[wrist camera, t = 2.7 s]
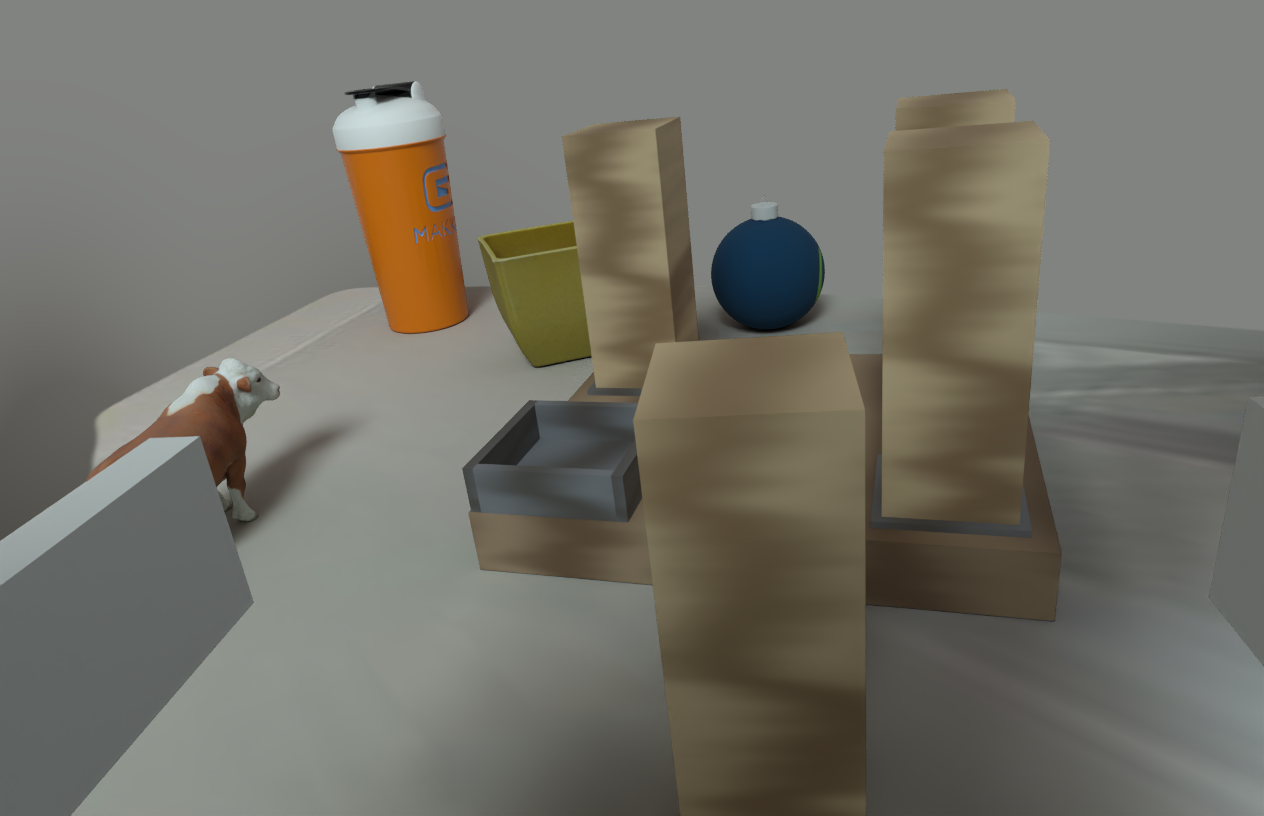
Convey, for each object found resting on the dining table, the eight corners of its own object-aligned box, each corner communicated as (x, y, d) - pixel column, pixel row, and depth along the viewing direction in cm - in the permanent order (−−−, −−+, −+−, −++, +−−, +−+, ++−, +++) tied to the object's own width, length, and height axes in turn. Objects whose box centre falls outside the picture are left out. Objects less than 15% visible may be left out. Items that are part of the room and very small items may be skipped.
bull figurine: (317, 473, 51) (281, 344, 48) (172, 614, 39) (110, 454, 36) (251, 474, 52) (211, 347, 49) (90, 613, 40) (22, 456, 37)
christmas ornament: (806, 348, 62) (802, 206, 58) (698, 341, 65) (687, 208, 62) (838, 311, 68) (836, 182, 64) (738, 307, 72) (730, 185, 68)
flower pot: (632, 359, 63) (618, 237, 60) (515, 383, 61) (493, 259, 58) (601, 327, 71) (587, 217, 68) (496, 347, 69) (476, 236, 66)
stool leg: (848, 735, 29) (842, 332, 23) (866, 870, 24) (865, 409, 18) (696, 733, 29) (655, 343, 24) (685, 864, 25) (633, 420, 19)
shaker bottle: (363, 340, 75) (303, 96, 67) (400, 309, 83) (351, 87, 75) (462, 334, 74) (413, 83, 66) (490, 302, 82) (449, 76, 74)
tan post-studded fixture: (1010, 403, 50) (1033, 84, 43) (1054, 621, 32) (1103, 143, 26) (615, 396, 57) (580, 122, 50) (480, 569, 40) (399, 189, 33)
